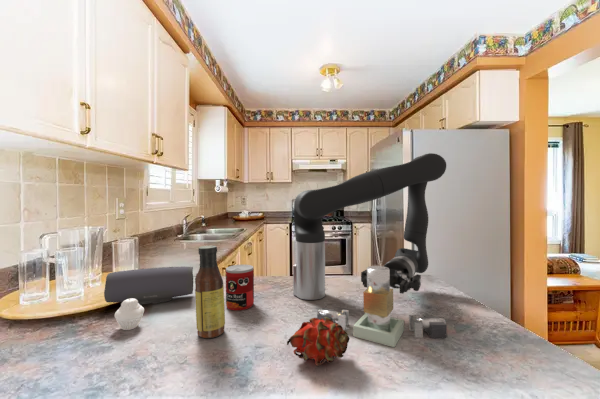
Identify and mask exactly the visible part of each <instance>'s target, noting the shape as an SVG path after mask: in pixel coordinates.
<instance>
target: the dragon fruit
mask: <svg viewBox="0 0 600 399" xmlns="http://www.w3.org/2000/svg"><path fill="white" fill-rule="evenodd" d="M324 319H325V320H324ZM324 319H323V318H321V319H320V320H319V319H318V318H317V317H312V318H310V319H309V321H304V322H302V323H301V326H300V327H299V329H297V330H296V331H295V332H294V334H293V335H291V336H290V337H289V339H288V340H287V341H286V345H287V346H289V344H290V345H291V347H292V348H295V349H293V351H292V353H293V354H294V355H295V356H296V357H298V358H299V359H304V361H306V360H314V361H315V362H314V363H315V365H316V366H317V367H319V366H321V365H323V364H325V363H326V362H327V363H332V362H333V361H334V360H335V357H336V358H339V359H341V358H344V356H345V355H344V354H345V353H346V351H347V349H348V344H349V343H350V340H351V338H350V337H349V335H348V332H347V330H346V331H345V330H343V328H342V326H341V325H339V324H338V322H335V323H333V321H332V320H331V319H329V318H328V317H324Z"/></svg>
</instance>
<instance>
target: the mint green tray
mask: <svg viewBox="0 0 600 399" xmlns="http://www.w3.org/2000/svg"><path fill="white" fill-rule="evenodd" d="M352 326H353V327H352V332H353V334H352V336H354V338H357V339H362V340H366V341H370V342H373V343H376V344H380V345H385V346H387V347H388V346H389V347H392V348H395V347H396V346H397V344H398V342H399V340H400V338H401V336H402V335H403V333H404V331H405V319H401V318H396V317H394V316H393V317H392V316H390V327H391V333H390V332H386V331H382V330H378V329H374V328H369V327H368V313H365V312H364V314H363V315H362V316H361V317H360V318H359V319H358V320H357V321H356V322H355V323H354V324H353V325H352Z"/></svg>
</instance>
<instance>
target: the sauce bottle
mask: <svg viewBox="0 0 600 399" xmlns="http://www.w3.org/2000/svg"><path fill="white" fill-rule="evenodd" d="M217 254H218V247H217V246H216V245H202V246H199V247H198V255H199V269H198V272H197V274H196V276H195V279H194V282H195V287H194V288H195V290H194V293H195V298H194V299H195V317H196V318H195V321H196V330H197V332H196V333H197V336H198V337H200V338H202V339H212V338H216V337H220V336H221V335H222V334H224V332H225V327H226V326H225V324H226V314H225V313H226V311H225V293H224V290H225V289H224V287H225V286H224V280H223V276H222V274H221V272H220V269H219V268H220V267H219V265H218V262H217V260H218V259H217V258H218V256H217Z"/></svg>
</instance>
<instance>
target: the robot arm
mask: <svg viewBox="0 0 600 399" xmlns="http://www.w3.org/2000/svg"><path fill="white" fill-rule="evenodd" d="M446 170H447V162H446V160H445V158H444V157H443V156H442V155H440V154H438V153H430V152H429V153H425V154H423V155H420V156H417V157H414V158H413V159H411V161H409V162H406V163H402V164H397V165H392V166H391V165H390V166H386V167H381V168H378V169H373V170H370V171H367V172H364V173H361V174H358V175H355V176H353V177H351V178H350V179H346V180H345V181H343V182H341V183H339V184H336V185H333V186H329V187H328V186H327V187H322V188H317V189H308V190H307V189H306V190H303V191H301V192H299V193H298V194H297V196H296V197H295V200H294V203H293V217H294V218H293V219H294V221H293V223H294V224H293V225H294V226H293V227H294V232H295V233H294V234H295V264H293V266H292V270H293V271H292V272H293V273H292V276H293V277H292V278H293V279H292V283H293V285H292V286H293V290H292V291H293V292H292V294H293V296H296V297H297V298H298V299H301V300H306V301H307V300H309V301H313V300H314V301H315V300H319V299H323V298H325V296H326V234H325V233H326V232H325V230H324V227H323V217H325V216H327V215H330V214H332V213H333V212H336V211H339V210H341V209H344V208H348V207H352V206H357V205H361V204H364V203H369V202H372V201H375V200H377V199H378V200H379V199H380V198H383V197H386V196H388V195H390V194H393V193H396V192H399V191H401V190H403V189H405V188H407V210H406V218H405V223H404V224H405V225H404V230H403V240H405V241H407V242H408V243H411V244H413V245H415V246H416V248H417V250H414V249H410V248H404V247H401V248H398V249H397V250H396V252H394V257H393V258H391V259H390V260H389V261H387V262H385V264H383V266H384V267H387V268H389V269H390V287H391V289H399V294H403V295H404V293H408V291H410V290H411V289H412V290H413V291H414V292H418V291H419V290H420V287H421V285H422V275H421V274H424V273H425V272H426V271H427V270H428V267H429V256H428V252H427V233H428V226H429V212H428V208H427V203H426V189H427V185H428V183H429V182H433V181H436V180H439V179H440V178H441V177H442V176H443V175H444V174H445V172H446ZM360 282H361V283H362V286H363V288H367V269H364V270H363V271H361V272H360Z"/></svg>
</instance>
